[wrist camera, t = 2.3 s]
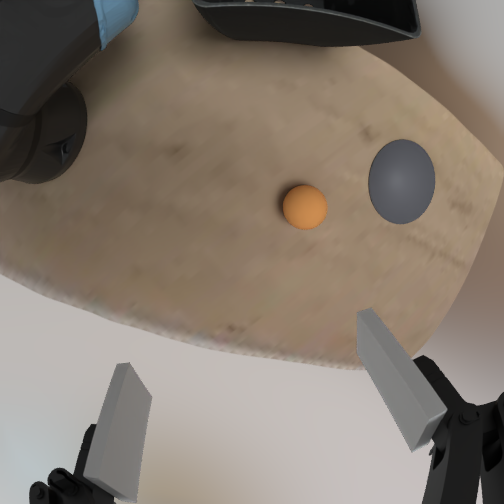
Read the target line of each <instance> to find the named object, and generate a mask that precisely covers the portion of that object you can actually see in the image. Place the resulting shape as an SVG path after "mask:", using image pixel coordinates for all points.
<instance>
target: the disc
mask: <svg viewBox="0 0 504 504" xmlns="http://www.w3.org/2000/svg"><path fill="white" fill-rule="evenodd" d="M434 189H435V172H434V167H433V164H432V161H431V159H430V157H429V156H428V154H427V153H426V151H425V150H424V149H423V148H422V147H421V146H420V145H418V144H417V143H415V142H412V141H409V140H396V141H393V142H390V143H389V144H387V145H386V146H384V147H383V148H382V149H381V150H380V151H379V153H378V154H377V155H376V157H375V159H374V161H373V163H372V166H371V169H370V174H369V193H370V197H371V201H372V203H373V205H374V207H375V209H376V210H377V212H378V213H379V214H380V215H381V216H382V217H383V218H384V219H386V220H387V221H389V222H392V223H395V224H406V223H409V222H412V221H414V220H416V219H417V218H419V217H420V216H421V215H422V214H423V213H424V212H425V210H426V209H427V207H428V206H429V204H430V202H431V200H432V197H433V193H434Z"/></svg>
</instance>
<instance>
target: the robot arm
mask: <svg viewBox="0 0 504 504" xmlns="http://www.w3.org/2000/svg"><path fill="white" fill-rule="evenodd" d="M138 10H139V4H138V0H0V182H2V181H5V180H8V179H13V180H17V181H21V182H25V183H29V184H38V183H43V182H46V181H49V180H52V179H55V178H57V177H58V176H60V175H61V174H63V173H64V172H65V171H66V170H67V169H68V168H69V167H70V166H71V165H72V163H73V162H74V160H75V159H76V157H77V155H78V153H79V151H80V149H81V147H82V144H83V141H84V138H85V133H86V126H87V112H86V106H85V102H84V99H83V97H82V95H81V93H80V92H79V90H78V89H77V88H76V87H75V86H74V85H73V84H72V83H70V82H68V81H67V80H68V79H69V78H70V77H71V76H72V75H73V74H74V73H75V72H77V71H78V70H79V69H80V68H81V67H82V66H83V65H84V64H85V63H86V62H87V61H88V60H90V59H91V58H92V57H93V56H94V55H95V54H96V53H98V52H99V51H100V50H101V51H102V50H104V49H105V48H106V46H107V44H108V43H109V42H110V41H111V40H112V39H113V38H114V37H116V36H117V35H118V34H119V33H120V32H122V31H123V30H124V29H125V28H127V27H128V26H129V25H130V24H131V23H132V22H133V21H134V20H135V18H136V16H137V14H138ZM357 354H358V356H359V358H360V359H361V361H362V363H363V365H364V366H365V368H366V370H367V371H368V373H369V375H370V376H371V378H372V380H373V382H374V384H375V386H376V387H377V389H378V391H379V393H380V394H381V396H382V398H383V400H384V402H385V403H386V405H387V407H388V409H389V411H390V412H391V414H392V416H393V418H394V420H395V422H396V424H397V426H398V427H399V429H400V431H401V433H402V435H403V437H404V439H405V440H406V442H407V444H408V446H409V448H410V450H411V452H414V451H416V450H418V449H420V448H422V447H423V446H425V445H428V443H429V442H430V440H431V438H432V440H433V441H434V443H435V444H434V446H433V447H432V449H431V450H430V453H429V455H431V454H432V453H433V454H432V460H431V465H430V471H429V476H428V480H427V485H426V489H425V493H424V497H423V501H422V504H476V499H477V493H478V486H479V479H480V477H481V486H482V498H483V504H504V392H503V393H502V394H501V395H500V396H499V398H498V399H497V400H496V401H493V402H490V403H487V404H484V405H479V406H476V405H475V404H472V403H467V402H465V401H464V400H463V399H462V397H461V396H460V394H459V393H458V392H457V391H456V389H455V388H454V387H453V385H452V384H451V383H450V381H449V380H448V379H447V378H446V377H445V375H444V374H443V373H442V371H440V369H439V367H438V366H437V365H436V364H435V362H434V361H433V360H431V359H429V358H428V357H426V356H424V355H422V356H420V357H418V358H416V359H414V360H412V359H411V358H410V356H409V355H408V354H407V352H406V351H405V350H404V349H403V347H402V346H401V345H400V343H399V342H398V341H397V339H396V338H395V337H394V336H393V334H392V333H391V332H390V330H389V329H388V328H387V327H386V325H385V324H384V323H383V322H382V320H381V319H380V318H379V317H378V315H377V314H376V313H375V312H374V310H373V309H372V308H369V309H365V310H362V311H359V312H357ZM151 400H152V396H151V395H150V393H149V392H148V390H147V389H146V387H145V386H144V384H143V383H142V381H141V380H140V378H139V377H138V375H137V374H136V372H135V370H134V369H133V367H132V366H131V364H130V363H122V364H117V366H116V368H115V371H114V374H113V377H112V379H111V382H110V386H109V388H108V391H107V394H106V397H105V400H104V403H103V406H102V410H101V413H100V416H99V419H98V422H97V424H91V425H90V427H89V428H88V429H87V431H86V432H85V435H84V439H83V443H82V445H81V450H80V452H79V455H78V459H77V463H76V466H75V470H74V474H73V475H72V474H71V473H69V472H68V471H67V470H65V469H64V468H56V469H54V470H53V471H52V472H51V473H50V474H49V477H48V485H49V486H47V485H46V484H44V483H43V482H40V481H38V482H35V483H34V484H32V486H31V488H30V492H29V500H30V504H116V503H115V502H114V497H116V498H118V499H119V500H121V501H125V502H133V503H136V502H137V493H138V485H139V476H140V468H141V461H142V454H143V447H144V441H145V435H146V429H147V422H148V417H149V411H150V406H151Z"/></svg>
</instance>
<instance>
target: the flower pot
mask: <svg viewBox="0 0 504 504" xmlns="http://www.w3.org/2000/svg"><path fill="white" fill-rule="evenodd" d="M192 1H193V3H194V5H195V6H196V8H197V9H198V11H199V12H200V13H201V15H202V16H203V17H204V18H205V20H206V21H207V22H208V23H209V24H210V25H211V26H212V27H213V28H215V29H216V30H217V31H219V32H220V33H222V34H224V35H225V36H227V37H230V38H232V39H236V40H257V41H276V42H289V43H299V44H307V45H315V46H324V47H343V46H361V45H372V44H381V43H389V42H395V41H403V40H409V39H413V38H418V37H420V35H421V26H420V20H419V15H418V10H417V4H416V0H281V1H283V2H285V4H282V3H274V2H275V1H277V0H254V1H255V2H245V0H192ZM305 4H310V5H312V6H313V7H309V6H304V5H305Z"/></svg>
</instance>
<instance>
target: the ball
mask: <svg viewBox="0 0 504 504" xmlns="http://www.w3.org/2000/svg"><path fill="white" fill-rule="evenodd" d="M283 212H284V215H285V218H286V219H287V221H288V222H289V223H290V224H291V225H292V226H294V227H296V228H298V229H302V230H308V229H313V228H315V227H317V226H318V225H320V224H321V223H322V222H323V220H324V219H325V217H326V214H327V201H326V199H325V197H324V195H323V194H322V193H321V192H320V191H319V190H318V189H317V188H315V187H312V186H309V185H301V186H297V187H295V188H293V189H292V190H290V191H289V192H288V194H287V195H286V197H285V199H284V202H283Z"/></svg>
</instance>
